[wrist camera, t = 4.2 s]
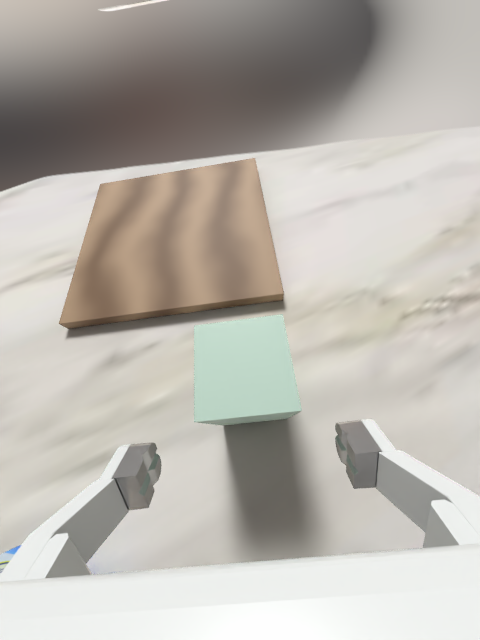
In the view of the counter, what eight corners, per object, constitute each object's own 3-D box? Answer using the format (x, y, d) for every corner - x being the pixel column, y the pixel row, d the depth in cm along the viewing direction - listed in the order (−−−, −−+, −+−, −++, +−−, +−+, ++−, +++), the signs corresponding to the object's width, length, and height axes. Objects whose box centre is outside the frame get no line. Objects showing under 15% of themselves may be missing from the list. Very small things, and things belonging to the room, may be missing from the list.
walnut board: (255, 167, 32) (254, 158, 31) (282, 300, 22) (283, 293, 21) (105, 192, 33) (100, 184, 32) (68, 328, 23) (58, 323, 22)
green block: (276, 356, 20) (282, 314, 13) (287, 418, 17) (301, 410, 10) (220, 363, 20) (194, 325, 13) (223, 425, 18) (194, 422, 11)
